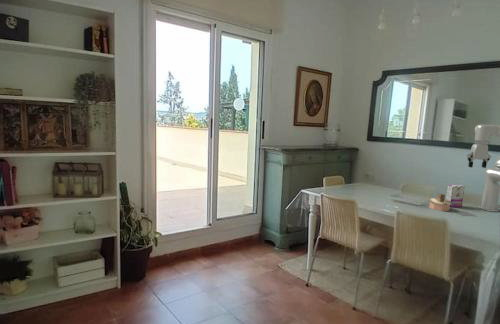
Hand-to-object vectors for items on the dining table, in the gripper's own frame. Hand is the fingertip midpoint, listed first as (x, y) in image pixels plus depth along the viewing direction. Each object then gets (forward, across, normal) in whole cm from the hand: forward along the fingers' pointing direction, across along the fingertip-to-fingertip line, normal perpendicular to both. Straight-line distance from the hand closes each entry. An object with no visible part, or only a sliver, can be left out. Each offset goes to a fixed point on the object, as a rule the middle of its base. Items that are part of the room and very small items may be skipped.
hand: (477, 167), depth 224 cm
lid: (+28, +19, -6) cm, 34 cm away
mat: (+33, +8, +5) cm, 34 cm away
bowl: (+32, +19, -6) cm, 38 cm away
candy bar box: (+33, +3, -13) cm, 36 cm away
